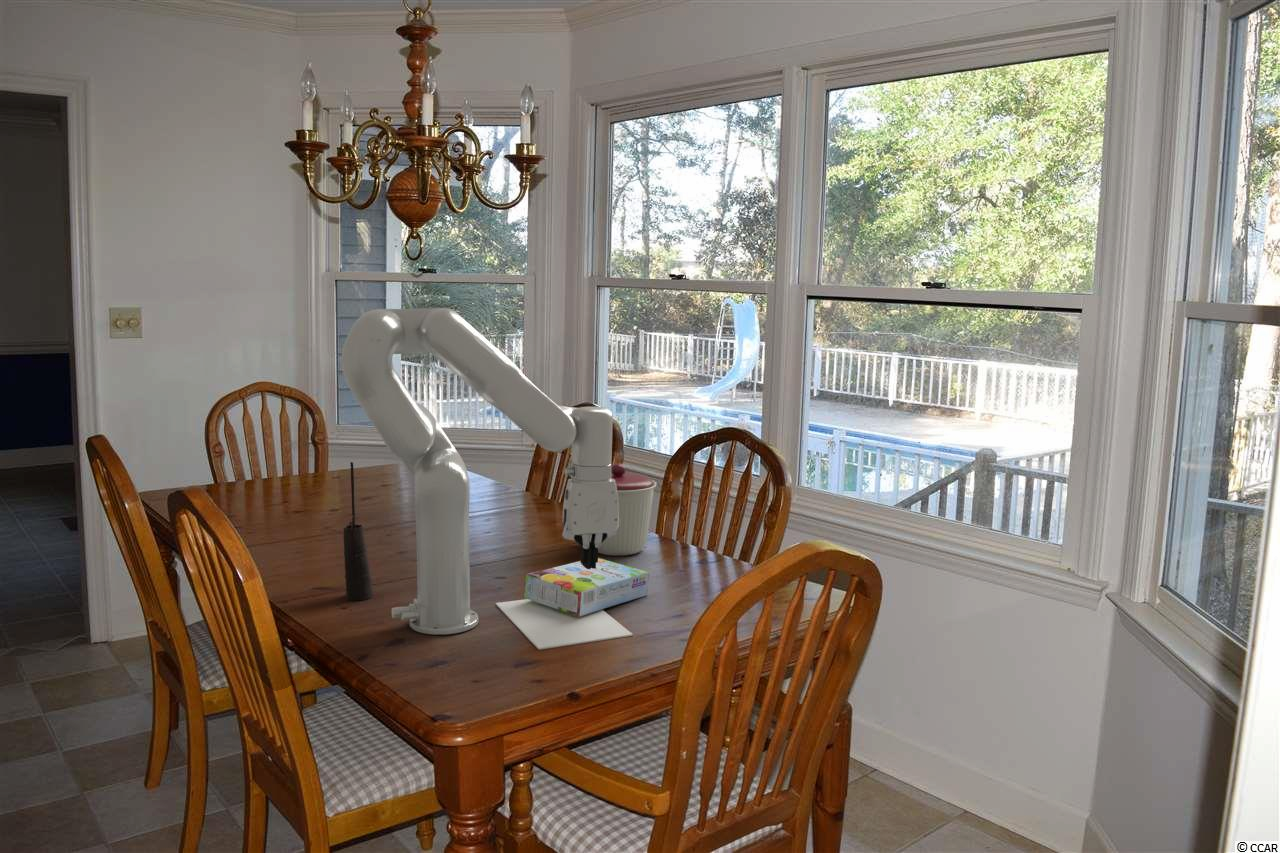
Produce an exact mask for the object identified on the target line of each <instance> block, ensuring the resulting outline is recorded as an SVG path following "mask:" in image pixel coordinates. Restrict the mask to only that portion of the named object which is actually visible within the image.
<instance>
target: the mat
mask: <svg viewBox="0 0 1280 853" xmlns="http://www.w3.org/2000/svg"><path fill="white" fill-rule="evenodd" d="M495 605H496V607H497V608H499V610H500V611H501V612H502V613H503V614H504V615H505V616H506V617H507V618H508V619H509V620H510V621H511V622H512V623H513V624H514V625H515V626H516V627H517V629H519V631H520V632H521V633H522V634H523V635H524V636H525V637H526V638H527V639H528V640H529V642H531V643H532V645H533V646H535V648H536V649H537V650H539V651H541V650H546V649H547V650H548V649H553V648H561V647H566V646H572V645H573V646H574V645H580V644H586V643H593V642H600V641H605V640H606V641H607V640H612V639H620V638H626V637H627V638H628V637H633V635H634V634H633V633H632V632H631V631H630V630H628V629H627V628H626V627H625V626H624V625H622V624H621V623H619V622H618V621H617V620H616V619H615V618H613V617H612V616H611V615H610V614H608V613H607V612H606V611H604V609H601V610H598V611H595V612H592V613H589V614H586V615H583V616H579V617H578V616H575V615H572V614H570V613H567V612H564V611H561V610H558V609H555V608H552V607H549V606H547V605H543V604H541V603H538V602H535V601H532V600H529V599H525V598H524V599H517V600H510V601H502V602H500V601H499V602H495Z"/></svg>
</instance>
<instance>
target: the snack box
mask: <svg viewBox="0 0 1280 853" xmlns="http://www.w3.org/2000/svg"><path fill="white" fill-rule="evenodd" d="M649 576H650V572H649V571H647V570H642V569H639V568H636V567H631V566H628V565H625V564H622V563H618V562H614V561H611V560H607V559H605V558H600V557H598V562H597V563H596V568H595V569H592V568H591V569H587V568H585V567H584V566H583V565H582V564H581V561H580V560H579V561H575V562H571V563H567V564H564V565H559V566H554V567H550V568H545V569H541V570H537V571H532V572H530V573H529V572H528V573H526V574H525V585H524V596H523V597H524V599H529V600H532V601H535V602H538V603H541V604H543V605H547V606H549V607H552V608H555V609H558V610H561V611H564V612H567V613H570V614H572V615H575V616H578V617H579V616H583V615H586V614H589V613H592V612H595V611H598V610H601V609H602V610H605V609H607V608H610V607H613V606H617V605H620V604H624V603H627V602H630V601H633V600H637V599H639V598H642V597H646V596H648V595H649V582H650V581H649V580H650V577H649Z"/></svg>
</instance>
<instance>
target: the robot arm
mask: <svg viewBox="0 0 1280 853" xmlns="http://www.w3.org/2000/svg"><path fill="white" fill-rule="evenodd" d="M410 354H411V355H415V354H416V355H421V354H422V355H423V354H431V355H433V356H434V357H435V358H436V359H437V360H438V361H439V362H441V363H442V364H443V365H444V366H445V367H447V368H448V369H449V370H450V371H451V372H452V373H454V374H455V375H456V376H457V377H458V378H459V379H461V380H462V381H463V382H464V383H465V384H466V385H467V386H469V387H470V389H472V390H473V391H475V393H477V395H479V396H480V397H481V398H482V399H483V400H485V401H486V402H487V403H488V404H490V405H491V406H493V407H494V408H495V409H497V410H498V411H499V412H500V413H502V414H503V415H504V416H505V417H506V418H507V419H508V420H510V421H511V422H512V423H513V424H514V425H516V427H517V428H519V429H520V430H521V431H522V432H524V433H525V434H526V435H527V436H528V437H529V438H531V439H532V440H533V441H534V442H535V443H537V444H538V445H539V446H540V447H541V448H543V449H544V450H547V451H548V452H553V453H558V452H562V451H565V450H567V449H568V448H570V447H571V463H570V465H569V466H568V467H566V468H564V469H563V470H564V475H565V476H569V477H570V478H569V479H567V483H566V488H565V493H564V500H563V507H562V527H563V530H562V535H561V536H562V538H563V539H565V540H569V541H575V542H576V543H577V544H578V546H580V554H579V555H580V557H579V559H580V560H579V561H581V564H582V565H583V566H584V567H585V568H587V569H591V568H592V569H595V568H596V563H597V562H598V558H599V553H598V548H599V547H600V546H601V543H602V542H603V541H604V540H605V539H606V538H607V537H611V536H613V535H616V534H617V531H616V530H617V529H618V527H619V505H618V494H617V487H616V482H615V480H614V479H612V478H611V467H612V455H613V453H612V452H613V450H612V448H613V427H614V426H613V423H614V422H613V420H614V418H613V412H612V411H611V410H610V409H609V408H606V407H602V406H582V407H574V406H573V407H572V406H564V405H558V404H556V402H554V401H553V400H552V399H551V398H549V396H548V395H546V394H545V393H544V392H543V391H541V389H539V388H538V387H537V386H536V385H535V384H534V383H533V382H532V381H531V380H530V379H529V378H528V377H527V376H526V375H525V374H524V373H523V371H522V370H521V369H520V368H519V366H517V365H516V363H514V361H513V360H512V359H510V358H509V357H508V356H507V355H506V354H504V353H503V351H502V350H500V349H499V348H498V347H497V346H495V345H494V344H493V343H492V342H491V341H490V340H488V338H486V337H485V336H484V335H482V333H480V332H479V331H478V330H477V329H476V328H474V327H473V326H472V324H470V323H469V322H468V321H467V320H465V319H464V318H463V317H462V316H461V315H460V314H459V313H458V312H456V311H455V310H454V309H451V308H447V307H436V308H435V307H434V308H377V309H371V310H369V311H367V312H365V313H363V314H362V315H360V317H358V318H357V319H356V321H355V322H354V323H353V325H352V327H351V329H350V330H349V332H348V334H347V336H346V338H345V341H344V343H343V346H342V352H341V367H342V368H341V370H342V373H343V377H344V380H345V382H346V385H347V386H348V387H349V390H350V391H351V394H352V395H353V397H354V398H355V399H356V401H357V403H359V405H360V407H361V409H362V410H363V411H364V413H365V415H366V416H367V418H368V420H369V421H370V422H371V424H372V426H373V427H374V428H375V431H377V433H378V435H379V436H380V438H381V439H382V441H383V443H384V444H385V446H386V447H387V449H388V451H390V452H391V454H393V455H394V456H396V457H398V458H400V460H401V461H403V463H404V465H405V466H406V468H407V469H408V472H410V474H411V475H412V477H413V478H414V499H415V524H416V525H415V530H416V531H415V534H416V535H415V537H416V538H415V539H416V571H417V573H416V578H417V579H416V580H417V583H416V584H417V598H413V603H409V604H408V606H396V607H392V608H391V617H392V619H397V618H398V619H399V618H401V621H406V620H407V621H408V620H409V627H410V628H411V629H412V630H413V631H415V632H418V633H420V634H425V635H435V636H436V635H437V636H438V635H440V636H441V635H453V634H458V633H459V634H460V633H464V632H466V631H469V630H472V629H473V628H475V627H476V626H477V625H478V623H479V614H478V613H477V612H476V611H474V610H473V609H471V593H470V592H471V590H470V589H471V588H470V587H471V583H470V582H471V581H470V580H471V578H470V574H471V573H470V568H471V566H470V494H471V490H470V488H471V487H470V478H469V474H468V469H467V466H466V464H465V461H464V459H463V458H462V456H461V455H460V453H459V452H458V451H457V449H456V447H455V446H454V445H453V443H452V441H451V440H450V439H449V437H448V436H447V434H446V433H445V431H444V430H443V428H442V426H441V425H440V424H439V422H438V421H437V420H436V418H435V417H434V416H435V415H433V413H432V412H431V411H430V410H429V409H428V408H427V407H425V406H424V405H423V404H420V403H418V402H417V401H416V400H415V398H414V396H412V394H411V392H410V391H409V390H408V388H407V387H406V383H404V381H403V379H402V378H401V377H400V375H399V374H398V373H397V371H396V369H395V367H394V364H393V357H394V355H410ZM588 534H591V537H590V543H589V539H588Z"/></svg>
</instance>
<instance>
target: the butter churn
mask: <svg viewBox="0 0 1280 853" xmlns="http://www.w3.org/2000/svg"><path fill="white" fill-rule="evenodd" d="M349 463H350V481H351V482H350V486H351V511H352V512H351V516H352V517H351V521H350V522H349V524H347V525H345V526H343V551H344V552H343V555H344V570H345V575H344V578H345V594H346V596H345V598H346V599H347V600H348V601H355V602H357V601H366V600H368V599H371V598H372V597H373V596H374V595H373V584H372V583H373V582H372V578H371V576H372V575H371V570H370V565H369V559H368V558H369V557H368V556H369V555H368V550H367V546H366V540H365V539H366V538H365V532H364V526H363V524H357V523H356V509H355V505H356V504H355V480H354V479H355V478H354V477H355V473H354V472H355V471H354V462H353V461H351V462H349Z"/></svg>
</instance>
